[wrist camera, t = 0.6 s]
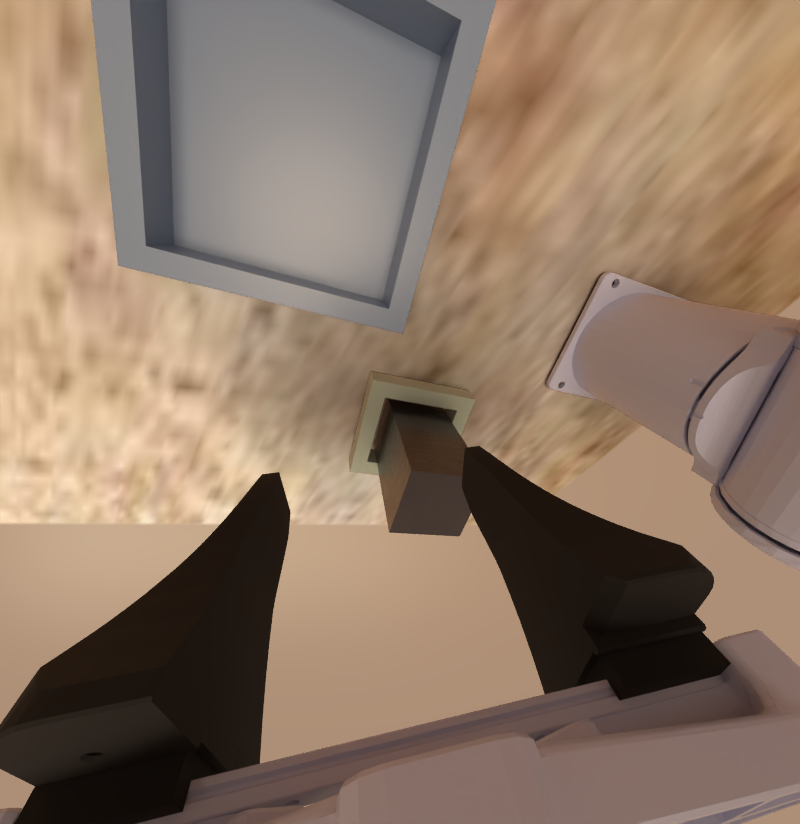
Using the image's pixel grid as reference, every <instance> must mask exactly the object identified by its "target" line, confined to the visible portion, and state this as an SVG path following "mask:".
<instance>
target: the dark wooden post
mask: <svg viewBox="0 0 800 824" xmlns="http://www.w3.org/2000/svg"><path fill="white" fill-rule="evenodd" d="M465 448H468V447H467V445H466V444H465V442H464V441H463V439H462V437H461V436H460V434H459V433H458V431H457V429H456V428H455V426H454V425H453V423H452V422H451V420H450V418H449V417H448V415H447V414H446V412H445V410H444V409H443V408H440V407H435V406H429V405H423V404H418V403H412V402H407V401H401V400H395V399H390V398H387V399H386V402H385V406H384V409H383V413H382V416H381V420H380V424H379V427H378V431H377V434H376V438H375V441H374V449H375V455H376V460H377V466H378V472H379V477H380V483H381V489H382V494H383V500H384V506H385V511H386V517H387V523H388V528H389V532H391V533H392V532H393V533H409V534H427V535H446V536H460V534H461V532H462V530H463V528H464V526H465V524H466V522H467V520H468V518H469V516H470V514H471V511H470V509H469V506H468V503H467V501H466V498H465V495H464V492H463V489H462V476H463V463H464V451H465Z"/></svg>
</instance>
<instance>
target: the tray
mask: <svg viewBox="0 0 800 824" xmlns="http://www.w3.org/2000/svg"><path fill="white" fill-rule="evenodd" d="M495 3H496V0H91V5H92V15H93V24H94V34H95V44H96V54H97V64H98V73H99V83H100V93H101V103H102V112H103V122H104V132H105V142H106V152H107V161H108V171H109V181H110V191H111V200H112V210H113V220H114V230H115V240H116V249H117V259H118V266H122V267H126V268H130V269H134V270H138V271H142V272H147V273H151V274H155V275H159V276H163V277H167V278H172V279H176V280H180V281H184V282H188V283H192V284H197V285H201V286H205V287H209V288H213V289H217V290H222V291H226V292H230V293H234V294H238V295H242V296H247V297H251V298H255V299H259V300H263V301H267V302H272V303H276V304H280V305H284V306H288V307H292V308H297V309H301V310H305V311H309V312H313V313H317V314H322V315H326V316H330V317H334V318H338V319H342V320H347V321H351V322H355V323H359V324H363V325H367V326H372V327H376V328H380V329H384V330H388V331H392V332H397V333H401V334H403V332H404V329H405V325H406V321H407V318H408V314H409V311H410V307H411V303H412V300H413V296H414V293H415V289H416V286H417V282H418V278H419V275H420V271H421V268H422V264H423V261H424V257H425V253H426V250H427V246H428V243H429V239H430V236H431V232H432V228H433V225H434V221H435V218H436V214H437V211H438V207H439V203H440V200H441V196H442V193H443V189H444V185H445V182H446V178H447V175H448V171H449V168H450V164H451V160H452V157H453V153H454V150H455V146H456V143H457V139H458V135H459V132H460V128H461V125H462V121H463V118H464V114H465V110H466V107H467V103H468V100H469V96H470V92H471V89H472V85H473V82H474V78H475V75H476V71H477V67H478V64H479V60H480V57H481V53H482V50H483V46H484V42H485V39H486V35H487V32H488V28H489V25H490V21H491V17H492V14H493V10H494V7H495Z"/></svg>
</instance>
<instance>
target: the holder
mask: <svg viewBox="0 0 800 824" xmlns="http://www.w3.org/2000/svg"><path fill="white" fill-rule="evenodd" d="M385 398H390V399H395V400H401V401H407V402H412V403H418V404H423V405H429V406H435V407H440V408H446V409H447V411H446V414H447V415H448V417H449V418H450V420H451V422H452V423H453V425H454V426H455V428H456V429H457V431H458V433H459V434H460V436H461V435H462V432H463V430H464V427H465V425H466V423H467V420H468V418H469V415H470V413H471V411H472V408H473V406H474V403H475V401H476V399H475V398H474V397H473V396H472V395H471V393H470V392H469V391H468V390H463V389H458V388H453V387H448V386H443V385H438V384H433V383H428V382H423V381H418V380H413V379H408V378H403V377H398V376H393V375H388V374H383V373H378V372H373V371H371V373H370V377H369V381H368V385H367V389H366V393H365V397H364V401H363V405H362V409H361V413H360V417H359V421H358V425H357V429H356V433H355V437H354V441H353V445H352V449H351V453H350V457H349V465H350V472H356V473H366V474H375V475H379V472H378V466H377V460H376V455H375V451H374V450H371V446H372V443H373V439H374V436H375V432H376V429H377V425H378V421H379V418H380V414H381V411H382V407H383V404H384V400H385Z"/></svg>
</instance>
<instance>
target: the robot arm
mask: <svg viewBox="0 0 800 824" xmlns="http://www.w3.org/2000/svg"><path fill="white" fill-rule="evenodd" d="M614 280H615V283H614V285H613V286H612V282H613V281H614ZM560 382H561V384H560V385H559V386H558V384H559V383H560ZM546 384H547V387H548V388H550V389H552V390H556V391H560V392H565V393H569V394H574V395H579V396H583V397H588V398H592V399H597V400H601V401H604V402H605V403H607V404H608V405H610V406H612V407H613V408H615V409H617V410H618V411H620V412H622V413H623V414H625V415H627V416H628V417H630V418H631V419H633V420H635V421H636V422H638V423H640V424H641V425H643V426H645V427H646V428H648V429H650V430H651V431H653V432H655V433H656V434H658V435H659V436H661V437H663V438H664V439H666V440H668V441H669V442H671V443H673V444H674V445H676V446H677V447H679V448H681V449H683V450H684V451H686V452H688V453H689V454H691V455H692V456H694V464H693V467H692V471H694V472H695V473H697V474H698V475H700V476H701V477H703V478H704V479H706V480H707V481H709V482H710V483H712V484H713V486H712V488H711V493H710V496H711V502H712V504H713V506H714V508H715V510H716V511H717V513H718V514H719V515H720V517H721V518H722V519H723V520H724V521H725V522H726V523H727V524H728V525H729V526H730V527H731V528H732V529H733V530H734V531H735V532H737V533H738V534H739V535H740V536H741V537H743V538H744V539H746V540H747V541H748V542H750V543H751V544H752V545H754V546H755V547H756V548H758V549H759V550H761V551H763V552H764V553H766V554H768V555H769V556H771V557H773V558H774V559H776V560H778V561H780V562H782V563H784V564H786V565H788V566H790V567H793V568H795V569H797V570H800V320H796V319H790V318H784V317H778V316H773V315H767V314H761V313H756V312H750V311H744V310H738V309H733V308H727V307H721V306H715V305H710V304H704V303H698V302H693V301H689V300H686V299H683V298H680V297H678V296H675V295H672V294H670V293H667V292H664V291H661V290H659V289H656V288H653V287H651V286H648V285H645V284H642V283H640V282H637V281H634V280H632V279H629V278H626V277H623V276H621V275H618V274H615V273H611V272H606V273H604V274H603V275H601V277H600V278H599V280H598V282H597V284H596V286H595V288H594V290H593V292H592V294H591V296H590V298H589V300H588V302H587V304H586V306H585V308H584V310H583V311H582V313H581V315H580V317H579V319H578V321H577V323H576V325H575V327H574V329H573V331H572V333H571V335H570V337H569V339H568V341H567V343H566V345H565V347H564V349H563V351H562V353H561V355H560V357H559V358H558V360H557V362H556V364H555V366H554V368H553V370H552V372H551V374H550V376H549V378H548V380H547V383H546ZM462 489H463V492H464V495H465V498H466V501H467V503H468V506H469V509H470V511H471V513H472V515H473V517H474V519H475V521H476V523H477V525H478V527H479V528H480V530H481V532H482V534H483V536H484V538H485V540H486V542H487V544H488V546H489V548H490V550H491V552H492V554H493V556H494V557H495V560H496V561H497V564H498V566H499V568H500V570H501V573H502V575H503V578H504V580H505V583H506V585H507V588H508V590H509V593H510V595H511V598H512V601H513V603H514V606H515V609H516V611H517V614H518V616H519V619H520V621H521V624H522V628H523V630H524V633H525V636H526V639H527V642H528V645H529V648H530V650H531V653H532V656H533V659H534V662H535V665H536V668H537V671H538V675H539V678H540V680H541V684H542V686H543V690H544V693H545V694H544V695H540V696H536V697H532V698H528V699H524V700H520V701H515V702H512V703H508V704H503V705H499V706H495V707H491V708H487V709H483V710H479V711H474V712H470V713H466V714H462V715H458V716H454V717H450V718H446V719H442V720H438V721H433V722H429V723H425V724H421V725H417V726H413V727H409V728H405V729H401V730H396V731H392V732H388V733H384V734H380V735H376V736H372V737H368V738H364V739H360V740H355V741H351V742H347V743H343V744H339V745H335V746H331V747H327V748H322V749H318V750H315V751H310V752H306V753H302V754H298V755H294V756H290V757H286V758H281V759H278V760H274V761H269V762H265V763H261V764H260V750H261V734H262V718H263V704H264V693H265V681H266V670H267V660H268V649H269V640H270V632H271V624H272V614H273V608H274V602H275V597H276V592H277V588H278V583H279V578H280V574H281V569H282V565H283V560H284V555H285V551H286V546H287V540H288V534H289V523H290V509H289V506H288V502H287V498H286V495H285V491H284V488H283V484H282V481H281V477H280V474H279V472H277V473H270V474H262V475H261V476H260V478H259V479H258V480H257V481H256V482H255V484H254V485H253V486H252V487H251V489H250V490H249V491H248V492H247V494H246V495H245V496H244V497H243V498H242V500H241V501H240V502H239V503H238V505H237V506H236V507H235V508H234V509H233V510H232V512H231V513H230V514H229V515H228V516H227V518H226V519H225V520H224V521H223V522H222V523H221V524H220V525H219V526H218V528H217V529H216V530H215V531H214V532H213V533H212V534H211V535H210V536H209V537H208V538H207V539H206V540H205V542H203V543H202V545H200V546H199V547H198V548H197V549H196V550H195V551H194V552H193V553H192V554H191V555H190V556H189V557H188V558H187V559H186V560H185V561H184V562H183V563H181V564H180V565H179V566H178V567H177V568H176V569H175V570H174V571H173V572H171V573H170V574H169V575H168V576H166V577H165V578H164V579H163V580H162V581H160V582H159V583H158V584H157V585H156V586H154V587H153V588H152V589H151V590H150V591H148V592H147V593H146V594H145V595H143V596H142V597H141V598H140V599H138V600H137V601H136V602H134V603H133V604H132V605H130V606H129V607H128V608H126V609H125V610H124V611H122V612H121V613H120V614H118V615H117V616H116V617H114V618H113V619H112V620H110V621H109V622H107V623H106V624H105V625H103V626H102V627H100V628H99V629H98V630H96V631H95V632H93V633H92V634H90V635H89V636H87V637H86V638H84V639H83V640H81V641H80V642H78V643H77V644H75V645H74V646H72V647H71V648H69V649H68V650H66V651H65V652H63V653H62V654H60V655H59V656H57V657H56V658H54V659H53V660H51V661H50V662H48V663H47V664H45V665H43V666H42V667H41V668H40V669H39V670H38V672H37V673H36V674H35V676H34V677H33V679H32V680H31V681H30V683H29V684H28V686H27V687H26V689H25V690H24V691H23V693H22V694H21V696H20V697H19V699H18V700H17V702H16V703H15V704H14V706H13V707H12V708H11V710H10V711H9V713H8V714H7V716H6V717H5V718H4V720H3V721H2V723H1V724H0V769H2V770H4V771H6V772H8V773H10V774H12V775H14V776H16V777H18V778H20V779H22V780H24V781H26V782H28V783H30V784H32V785H34V786H35V788H34V789H33V791H32V793H31V795H30V797H29V798H28V800H27V802H26V804H25V806H24V807H23V809H22V808H6V809H0V824H742V823H744V822H748V821H750V820H753V819H756V818H759V817H762V816H765V815H768V814H771V813H774V812H776V811H779V810H782V809H785V808H788V807H791V806H794V805H797V804H800V667H799V666H798V665H797V664H796V663H795V662H794V661H793V660H792V659H791V658H790V657H789V656H787V655H786V654H785V653H784V652H783V651H782V650H781V649H780V648H779V647H778V646H777V645H776V644H775V643H773V642H772V641H771V640H770V639H769V638H768V637H767V636H766V635H765V634H764V633H763V632H762V631H759V630H753V631H749V632H744V633H740V634H736V635H732V636H728V637H724V638H722V639H719V640H718V641H716V642H714V643H712V642H711V641H710V640H709V639H708V638H707V637H706V636H705V635H704V634H703V631H705V630H706V626H705V624H704V623H703V622H702V621H701V620H700V619H699V618H698V617H697V616H696V615H695V612H696V611H697V610H698V608H699V607H700V606H701V604H702V603H703V601H704V600H705V599H706V598H707V596H708V595H709V593H710V591H711V590H712V588H713V584H714V577H713V575H712V573H711V571H709V570H708V569H707V568H706V567H705V566H704V565H703V564H702V563H700V562H699V561H698V560H697V559H696V558H695V557H694V556H693V555H692V554H690V553H689V552H688V551H687V550H686V549H685V548H684V547H683V546H681V545H678V544H675V543H672V542H668V541H665V540H662V539H658V538H655V537H652V536H649V535H646V534H642V533H639V532H636V531H634V530H631V529H628V528H625V527H623V526H620V525H617V524H615V523H612V522H610V521H607V520H605V519H602V518H600V517H598V516H595V515H593V514H591V513H588V512H586V511H584V510H582V509H580V508H577V507H575V506H573V505H571V504H569V503H567V502H565V501H564V500H561V499H560V498H558V497H556V496H554V495H552V494H550V493H549V492H547V491H545V490H543V489H542V488H540V487H538V486H537V485H535V484H534V483H532V482H530V481H529V480H527V479H526V478H524V477H523V476H521V475H520V474H518V473H517V472H515V471H514V470H512V469H511V468H509V467H508V466H507V465H505V464H504V463H502V462H501V461H500V460H498V459H497V458H495V457H494V456H493V455H491V454H490V453H488V452H487V451H486V450H484V449H483V448H481V447H480V446H476V447H468V448H465V451H464V463H463V476H462ZM313 803H314V804H313ZM310 804H311V805H310ZM306 805H309V806H306ZM303 806H306V807H303Z"/></svg>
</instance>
